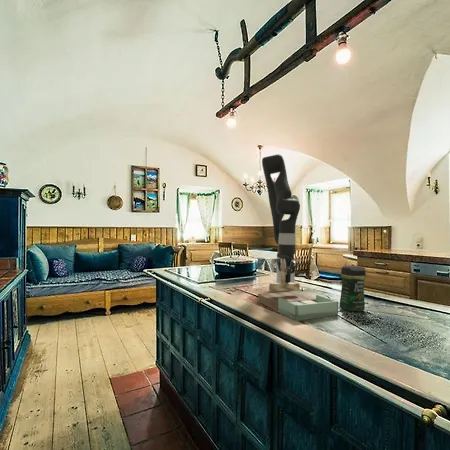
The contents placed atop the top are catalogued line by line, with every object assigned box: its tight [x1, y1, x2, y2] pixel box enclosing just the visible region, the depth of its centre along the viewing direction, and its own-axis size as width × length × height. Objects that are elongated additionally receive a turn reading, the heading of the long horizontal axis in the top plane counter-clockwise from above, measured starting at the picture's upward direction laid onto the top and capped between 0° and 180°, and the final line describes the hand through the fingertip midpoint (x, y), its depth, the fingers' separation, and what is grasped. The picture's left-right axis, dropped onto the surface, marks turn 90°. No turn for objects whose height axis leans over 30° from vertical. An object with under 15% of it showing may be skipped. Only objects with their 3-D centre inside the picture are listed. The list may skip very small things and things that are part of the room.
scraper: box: [268, 259, 301, 293], centre depth 132 cm, size 14×3×14 cm, turn 113°
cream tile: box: [301, 300, 317, 304], centre depth 122 cm, size 5×5×2 cm
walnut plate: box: [257, 291, 316, 312], centre depth 131 cm, size 20×16×4 cm
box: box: [277, 294, 339, 321], centre depth 118 cm, size 20×12×6 cm, turn 113°
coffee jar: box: [339, 265, 367, 312], centre depth 125 cm, size 10×8×19 cm
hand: (286, 281), depth 132 cm, fingers closed on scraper, 2 cm apart
